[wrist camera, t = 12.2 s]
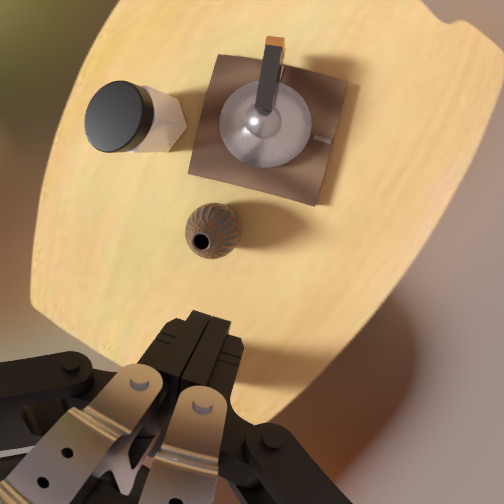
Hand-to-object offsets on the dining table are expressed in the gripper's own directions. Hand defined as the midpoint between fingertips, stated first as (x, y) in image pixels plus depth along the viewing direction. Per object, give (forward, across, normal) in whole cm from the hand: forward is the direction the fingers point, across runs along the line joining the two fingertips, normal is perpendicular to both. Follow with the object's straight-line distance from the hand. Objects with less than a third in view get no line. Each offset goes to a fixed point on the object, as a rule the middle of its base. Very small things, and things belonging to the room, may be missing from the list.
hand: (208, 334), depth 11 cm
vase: (+29, +6, +4) cm, 30 cm away
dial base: (+29, +3, -11) cm, 31 cm away
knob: (+27, +3, -13) cm, 30 cm away
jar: (+29, +18, -8) cm, 35 cm away
